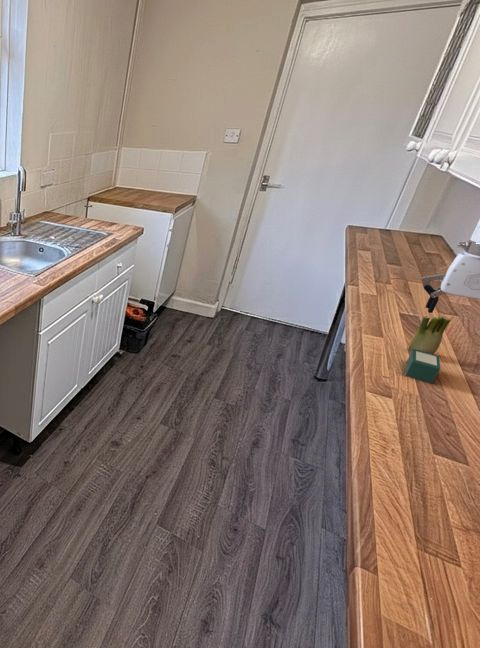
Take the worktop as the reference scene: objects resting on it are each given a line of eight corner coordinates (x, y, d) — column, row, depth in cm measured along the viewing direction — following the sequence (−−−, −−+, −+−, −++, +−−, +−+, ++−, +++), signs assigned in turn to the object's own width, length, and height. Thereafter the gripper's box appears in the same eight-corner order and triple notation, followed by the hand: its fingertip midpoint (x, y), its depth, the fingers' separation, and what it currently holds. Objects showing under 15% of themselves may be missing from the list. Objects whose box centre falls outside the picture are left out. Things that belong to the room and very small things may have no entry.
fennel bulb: (405, 353, 119) (423, 316, 114) (405, 346, 122) (423, 310, 118) (434, 360, 115) (454, 323, 111) (433, 354, 119) (452, 317, 114)
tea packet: (432, 383, 106) (440, 368, 104) (405, 375, 109) (412, 361, 107) (431, 369, 111) (439, 355, 110) (406, 362, 115) (413, 348, 113)
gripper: (437, 247, 99) (408, 311, 105) (555, 262, 88) (515, 333, 94) (436, 241, 104) (408, 302, 110) (547, 254, 92) (510, 322, 99)
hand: (457, 316), depth 102 cm, fingers open, 9 cm apart
